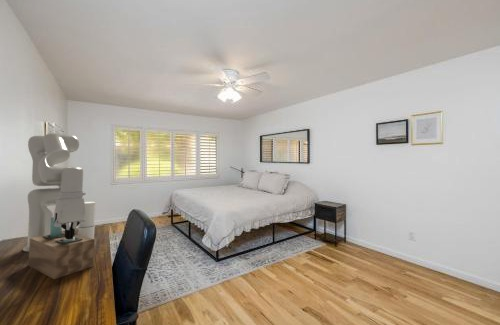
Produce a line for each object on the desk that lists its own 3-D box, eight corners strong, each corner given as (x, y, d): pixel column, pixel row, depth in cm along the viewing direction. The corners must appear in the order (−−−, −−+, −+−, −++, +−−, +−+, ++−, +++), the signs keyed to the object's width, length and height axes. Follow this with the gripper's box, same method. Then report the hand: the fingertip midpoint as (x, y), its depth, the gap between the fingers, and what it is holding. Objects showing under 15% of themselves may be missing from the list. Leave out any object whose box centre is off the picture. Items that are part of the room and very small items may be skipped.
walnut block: (54, 279, 88) (55, 246, 88) (28, 265, 99) (29, 237, 100) (93, 266, 100) (94, 237, 101) (66, 255, 112) (67, 230, 112)
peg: (47, 243, 102) (49, 216, 103) (58, 241, 106) (60, 215, 106) (52, 245, 100) (53, 217, 101) (62, 242, 104) (64, 216, 104)
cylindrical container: (84, 252, 116) (87, 203, 117) (73, 251, 117) (75, 203, 118) (96, 248, 123) (98, 201, 124) (85, 246, 124) (88, 201, 125)
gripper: (85, 193, 106) (84, 233, 106) (45, 196, 93) (43, 241, 93) (94, 194, 103) (92, 235, 102) (54, 198, 90) (51, 244, 89)
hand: (69, 238), depth 97 cm, fingers closed
